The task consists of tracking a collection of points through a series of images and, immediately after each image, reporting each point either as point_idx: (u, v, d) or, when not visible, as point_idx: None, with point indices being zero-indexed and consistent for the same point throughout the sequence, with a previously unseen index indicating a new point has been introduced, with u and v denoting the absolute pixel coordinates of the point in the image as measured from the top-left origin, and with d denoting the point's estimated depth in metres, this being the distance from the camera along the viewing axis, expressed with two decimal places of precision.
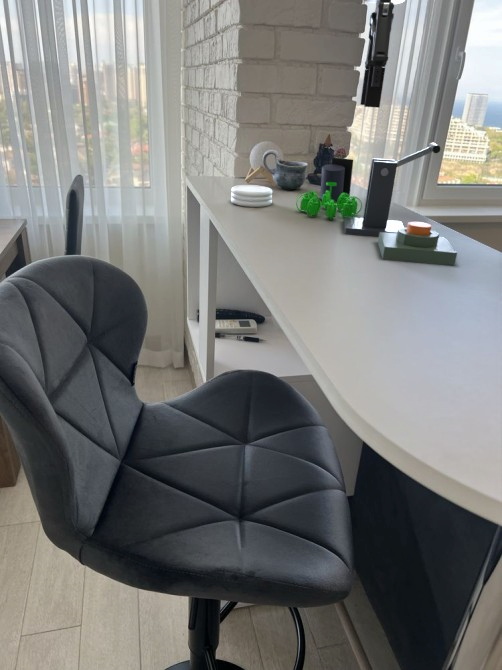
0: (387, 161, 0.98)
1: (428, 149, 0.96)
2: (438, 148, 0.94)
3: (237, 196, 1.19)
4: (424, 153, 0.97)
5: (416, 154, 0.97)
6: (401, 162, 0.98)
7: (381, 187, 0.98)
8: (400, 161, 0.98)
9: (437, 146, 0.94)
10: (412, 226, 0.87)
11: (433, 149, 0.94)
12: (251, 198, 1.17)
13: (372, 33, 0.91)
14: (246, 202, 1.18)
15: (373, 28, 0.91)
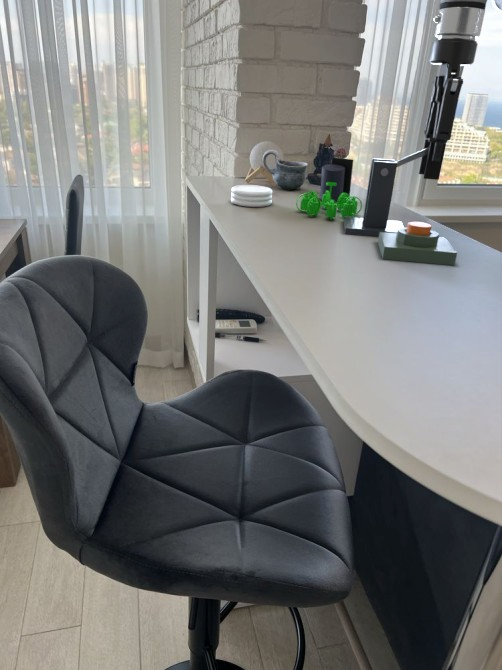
0: (387, 161, 0.98)
1: (428, 149, 0.96)
2: None
3: (237, 196, 1.19)
4: (424, 153, 0.97)
5: (416, 154, 0.97)
6: (401, 162, 0.98)
7: (381, 187, 0.98)
8: (400, 161, 0.98)
9: None
10: (412, 226, 0.87)
11: None
12: (251, 198, 1.17)
13: (437, 101, 0.91)
14: (246, 202, 1.18)
15: (438, 98, 0.90)
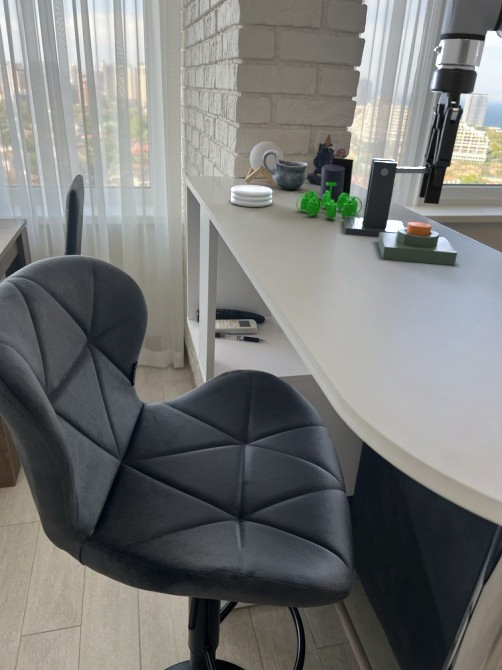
0: None
1: None
2: None
3: (237, 196, 1.19)
4: (425, 171, 0.98)
5: (418, 169, 0.98)
6: (402, 170, 0.98)
7: (381, 187, 0.98)
8: (401, 169, 0.98)
9: None
10: (412, 226, 0.87)
11: None
12: (251, 198, 1.17)
13: (437, 128, 0.93)
14: (246, 202, 1.18)
15: (439, 125, 0.92)
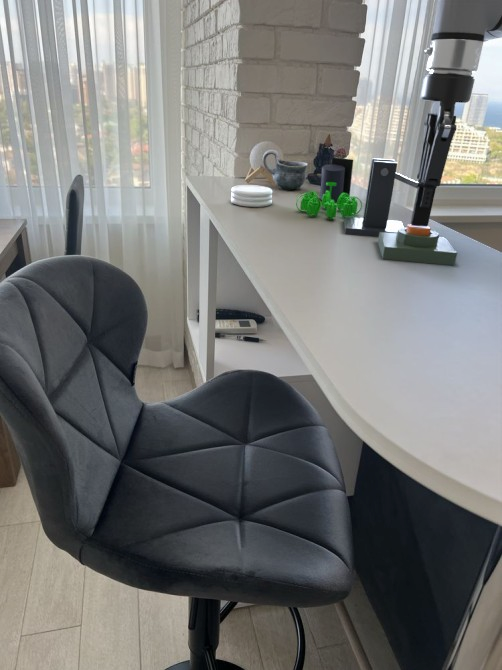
0: None
1: None
2: None
3: (237, 196, 1.19)
4: None
5: (414, 182, 0.99)
6: (400, 177, 0.99)
7: (381, 187, 0.98)
8: (400, 176, 0.99)
9: None
10: (412, 228, 0.88)
11: None
12: (251, 198, 1.17)
13: (427, 142, 0.81)
14: (246, 202, 1.18)
15: (429, 140, 0.81)
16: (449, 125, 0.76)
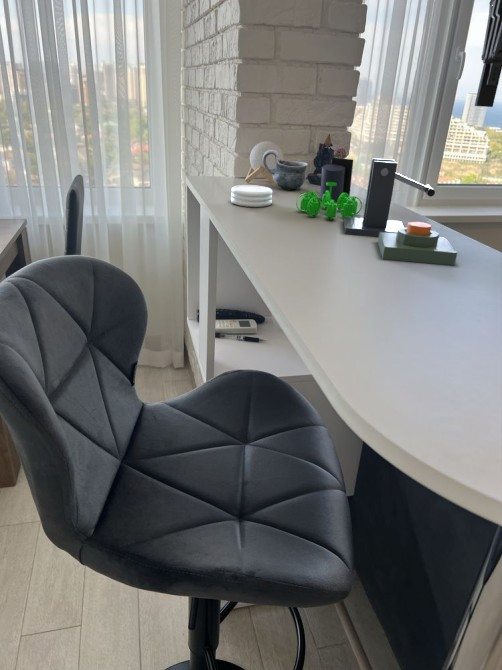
0: None
1: (425, 187, 0.99)
2: (432, 193, 0.98)
3: (237, 196, 1.19)
4: (419, 187, 0.99)
5: (414, 182, 0.99)
6: (400, 177, 0.99)
7: (381, 187, 0.98)
8: (400, 176, 0.99)
9: (433, 191, 0.97)
10: (412, 226, 0.87)
11: (429, 190, 0.98)
12: (251, 198, 1.17)
13: (497, 14, 0.82)
14: (246, 202, 1.18)
15: (499, 11, 0.81)
16: None
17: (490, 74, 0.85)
